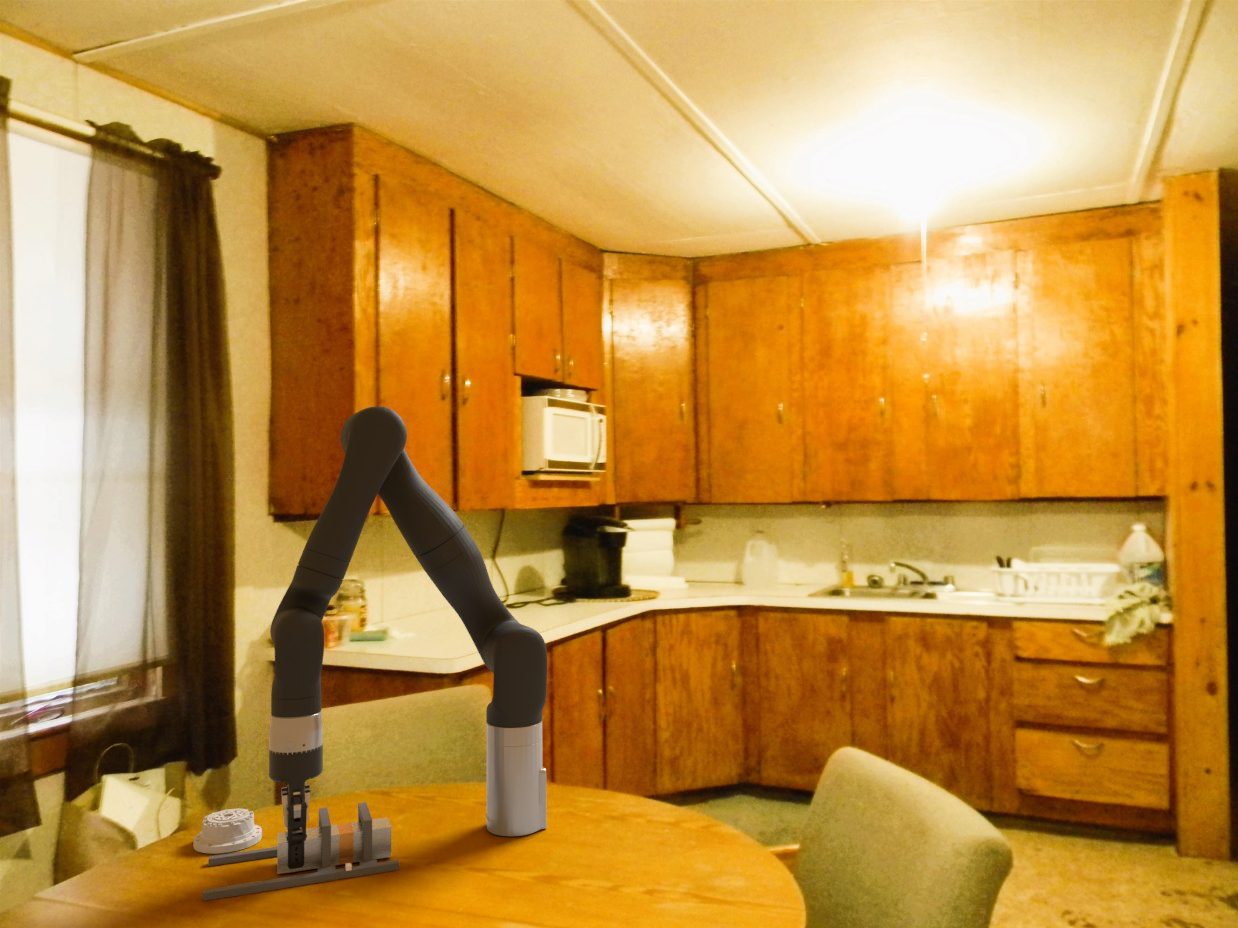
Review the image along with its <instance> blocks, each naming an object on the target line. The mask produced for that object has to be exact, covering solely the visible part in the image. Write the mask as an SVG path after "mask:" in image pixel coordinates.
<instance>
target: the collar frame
mask: <svg viewBox="0 0 1238 928" xmlns="http://www.w3.org/2000/svg"><path fill="white" fill-rule="evenodd" d="M368 806H369V805H368V804H367V802H366V801H364V802H358V803H357V810H358V811H357V822H358V821H361V822H362V825H363V861H360V862H358V865H356V866H355V865H354V866H353V864H352V863H346V864H344V865H345V866H344V867H341V868H336V865H335V866H331V825H332V824H331V819H330V814H329V809H328V807H320V808H318V827H321V831H322V863H321V868H317V871H315V872H309V873H304V874H297V875H296V874H295V875H292V876H291V875H290V876H284V877H278V878H272V879H265V880H259V881H252V882H245V883H240V884H233V885H227V886H222V887H214V888H207V889H203V890H202V902H204V901H205V902H206V901H212V900H217V899H218V900H219V899H226V898H230V897H236V896H237V897H238V896H245V895H251V894H256V893H262V892H268V891H269V892H270V891H274V890H275V891H276V890H280V889H286V888H287V889H289V888H293V887H299V886H306V885H312V884H317V883H318V884H319V883H323V882H325V883H326V882H329V881H337V880H342V879H343V880H344V879H348V878H354V877H361V876H369V875H374V874H380V873H385V872H393V871H398V870H399V871H400V861H399V859H393V860H388V861H387V860H386V861H380V862H378V859H373V860H372V820H373V818H372V815H371V813H370V810H369V807H368ZM273 857H277V846H273V847H272V846H271V847H266V848H259V849H252V850H244V851H239V852H229V853H222V854H215V855H209V856H208V861H207V862H208V867H214V866H220V865H228V864H233V863H235V864H236V863H240V862H241V863H242V862H246V861H253V860H260V859H268V858H273Z"/></svg>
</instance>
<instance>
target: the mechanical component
mask: <svg viewBox="0 0 1238 928" xmlns="http://www.w3.org/2000/svg"><path fill="white" fill-rule="evenodd" d="M203 818H204V819H203V820H202V822H201V823H202V824H201V825H202V826H201V831H200V832H198V833H197V834H195V836H194V838H193V839H192V840H193V841H192V842H193V844H192V845H193V849H194V851H196V852H199V853H203V854H209V855H210V854H212V855H213V854H215V855H219V854H229V853H234V852H236V851H241V850H244V849H247V848H250V847H252V846H254V845H256V844H257V843H259V842H260V841H261V840H262V837H263V829H262V827H261V826H260V825H258V824H255V814H254V811H252V810H251V811H249V808H245V809H244V808H238V807H237V808H232V809H231V808H230V809H223V810H220V811H216V812H211V813H210V814H207V815H205V816H204V817H203Z"/></svg>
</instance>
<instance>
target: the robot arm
mask: <svg viewBox="0 0 1238 928" xmlns="http://www.w3.org/2000/svg"><path fill="white" fill-rule="evenodd" d="M407 431H408V430H407V426H406V424H405V422H404V420H403V418H402V417H401V416H400V415H399V413H397V412H396V411H395V410H393V409H391V408H389V407H385V406H379V405H378V406H377V405H376V406H375V405H374V406H369V407H365V408H362V409H361V410H358V411H356V412H355V413H353V414H352V415H351V416H349V417H348V418H347V419H346V420H345V422H344V423H343V425H342V427H341V431H340V438H339V439H340V445H341V448H342V451H343V452H344V458H343V462H342V466H341V470H340V472H339V474H338V478H337V480H336V484H335V485H334V488H333V491H332V492H331V494H330V496H329V498H328V500H327V502H326V504H325V506H324V508H323V510H322V512H321V513H320V515H319V516H318V519H317V521H316V522H315V523H314V524H315V525H314V526H313V528H312V529H311V532H310V534H309V536H308V539H306V540H307V541H306V542H305V545H304V548H303V551H302V553H301V555H300V558H299V560H298V563H297V565H296V568H295V571H294V575H293V578H292V580H291V583H290V584H289V585H288V587H287V590H286V591H285V593H284V594H283V597H282V599H281V601H280V603H279V605H278V607H277V609H276V612H275V614H274V616H273V617H272V618H273V619H272V621H271V625H270V639H271V641H272V644H273V646H274V647H273V648H274V678H273V680H272V684H271V703H270V704H271V705H270V707H271V708H270V709H271V710H270V711H271V712H270V723H269V730H268V732H269V733H268V734H269V735H268V737H269V738H268V777H269V779H270V780H271V781H274V782H277V783H285V787H281V804H282V806H283V807H282V814H283V816H282V817H283V825H284V827H285V828H286V832H287V837H286V841H287V843H288V868H289V869H295V868H301V867H303V866H304V841H306V838H307V834H306V829H307V824H308V822H309V821H310V807H309V806H310V802H311V788H310V787H311V786H310V784H306V781H309V780H311V779H314V778H317V777H318V776H320V775H321V774H322V773H323V770H324V767H323V766H324V763H323V762H324V721H323V717H322V682H321V681H322V680H321V679H322V678H321V676H322V670H323V662H324V661H323V660H324V652H325V629H324V625H323V619H324V617H325V614H326V612H327V609H328V607H329V604H330V602H331V600H332V598H334V597H335V595H336V594H337V593H338V592H339V590H340V588H341V586H342V583H343V581H344V579H345V577H346V573H347V571H348V569H349V565H350V563H351V560H352V557H353V556H354V553H355V551H356V547H357V545H358V543H359V538H360V536H361V534H362V532H363V528H364V527H365V523H366V520H367V519H368V517H369V513H370V511H371V508H372V507H373V504H374V502H375V500H376V497H377V495H378V496H379V498H380V499H381V501H382V502H383V504H384V506H385V507H386V509H387V512H388V513H389V515H390V516H391V518H392V520H393V522H394V524H395V525H396V527H397V529H398V531H399V532H400V534H401V536H403V539H404V540H405V542H406V543H407V545H408V547H409V549H410V551H411V552H412V554H413V555H414V557H415V558H416V560H417V561H418V563H419V564H420V567H422V569H423V571H424V572H425V573H426V575H427V577H429V579H430V580H431V582H432V583H433V585H435V587H436V588H437V590H438V591H439V592H440V594H441V595H442V597H443V598H444V599H445V600H446V601H447V602H448V604H449V605H450V607H451V608H452V609H453V610H454V611H455V613H456V614H457V615H458V617H459V619H460V620H461V622H462V623H463V626H464V628H465V630H466V631H467V633H468V634H469V636H470V638H471V640H472V642H473V644H474V646H475V649H476V650H477V652H478V654H479V656H480V657H481V660H482V661H483V664H484V665H485V666H486V668H487V669H488V670H490V672H492V673H493V683H492V685H493V687H492V688H493V689H492V698H491V702H489V703H488V705H487V706H486V714H485V715H486V717H485V718H486V720H485V721H486V725H485V726H486V814H485V815H486V817H485V818H486V830H487V832H489V833H491V834H493V835H496V836H501V837H520V836H527V835H531V834H533V833H536V832H538V831H540V830H543V829H547V828H548V827H547V824H548V823H547V822H548V820H547V813H548V812H547V809H548V808H547V803H548V802H547V768H545V767H544V766H543V711H544V707H545V705H546V702H547V701H546V700H547V694H548V693H547V692H548V689H547V687H548V686H547V685H548V650H547V645H546V641H545V639H544V638H543V636H542V635H541V634H540V632H538V630H536V629H534V628H532V627H530V626H527V625H525V624H521V623H520V622H519V621H518V620H517V619H516V617H514V616H513V614H512V613H511V612H510V611H509V610H508V608H507V606H506V605H505V604H504V603H503V601H502V599H500V597H499V595H498V593H496V590H495V588H494V586H493V584H492V582H491V578H490V576H489V571H488V569H487V566H486V563H485V560H484V557H483V555H482V552H481V550H480V549H479V547H478V544H477V543H476V542H475V540H474V539H473V537H472V536H471V534H470V532H469V530H468V529H467V528H466V526H465V524H464V522H462V520H461V519H460V517H459V516H458V515H457V514H456V512H455V511H454V510H453V509H452V507H451V506H450V505H449V504H448V503H447V502H446V501H445V500H444V499H443V498H442V497H441V496H440V495H439V494H438V493H437V492H436V491H435V490H434V489H433V488H432V487H431V486H430V485H429V484H428V483H427V482H426V480H424V478H423V477H422V476H421V475H420V473H419V472H418V470H417V469H416V467H415V466H414V464H413V462H412V460H411V459H410V457H409V455H408V453H407V451H406V449H405V447H406V444H407V439H408V432H407ZM301 829H302V832H299V833H292V834H291V831H294V830H301Z"/></svg>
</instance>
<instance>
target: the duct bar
mask: <svg viewBox="0 0 1238 928" xmlns="http://www.w3.org/2000/svg"><path fill="white" fill-rule="evenodd" d="M299 832H302V829H301V830H294V831H291V834H292V833H299ZM306 834H307V838H306V841H304V866H303V867H301V868H295V869H289V868H288V843H287V841H286V837H287V831H280V832H277V834H276V835H277V837H276V842H277V844H276V847H277V856H276V867H277V870H276V871H277V873H276V874H277V875H283V874H290V873H295V872H301V871H307V870H308V871H309V870H314V869H318V868H321V863H322V831H321V827H319V826H317V827H309V828H306ZM390 857H391V858H392V825H391V822H390V820H389V818H388V817H382V818H381V817H380V818H374V819H373V818H372V860H375V859H376V860H378V859H379V860H380V859H385V858H386V859H387V858H390ZM362 861H363V825H362V822H361V821H358V820H357V821H352V822H344V823H338V824H331V866H335V867H336V866H340V865H345V864H346V863H351V864H353V863H359V862H362Z"/></svg>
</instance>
